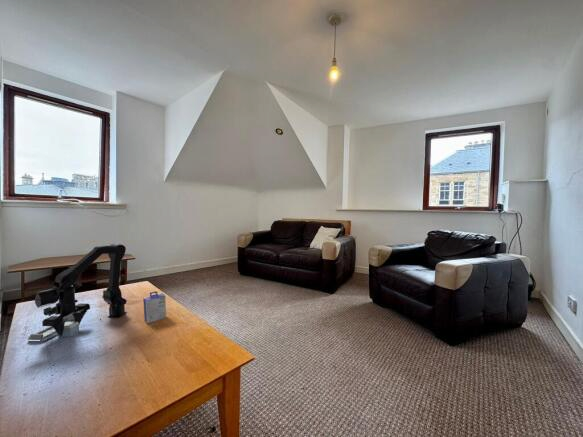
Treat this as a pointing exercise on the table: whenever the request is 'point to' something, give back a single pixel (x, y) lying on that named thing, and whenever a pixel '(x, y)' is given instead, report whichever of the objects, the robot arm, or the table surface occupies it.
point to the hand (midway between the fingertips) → (69, 331)
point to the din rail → (49, 331)
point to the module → (70, 328)
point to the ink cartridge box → (154, 307)
